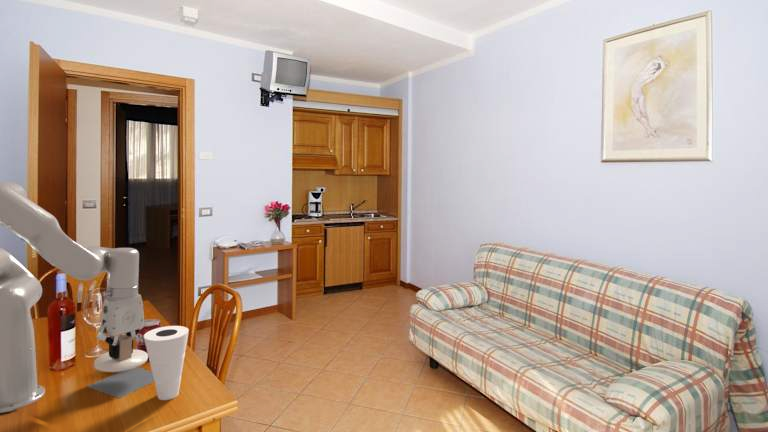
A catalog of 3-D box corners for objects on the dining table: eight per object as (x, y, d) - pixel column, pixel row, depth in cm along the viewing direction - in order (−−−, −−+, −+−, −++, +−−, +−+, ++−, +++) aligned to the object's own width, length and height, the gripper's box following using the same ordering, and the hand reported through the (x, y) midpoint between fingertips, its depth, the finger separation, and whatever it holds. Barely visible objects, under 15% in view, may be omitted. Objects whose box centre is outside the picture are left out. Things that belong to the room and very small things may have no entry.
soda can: (151, 364, 133) (150, 327, 132) (131, 361, 135) (130, 325, 134) (167, 354, 140) (166, 319, 139) (148, 352, 142) (147, 317, 141)
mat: (119, 400, 112) (119, 398, 112) (86, 388, 118) (86, 386, 118) (165, 377, 125) (165, 375, 125) (133, 368, 130) (133, 366, 130)
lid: (114, 376, 111) (114, 350, 111) (83, 364, 116) (83, 340, 116) (158, 359, 123) (158, 335, 123) (128, 349, 128) (128, 326, 128)
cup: (183, 383, 122) (182, 323, 120) (195, 398, 114) (193, 334, 112) (142, 395, 115) (139, 331, 113) (151, 412, 107) (148, 344, 105)
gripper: (101, 300, 109) (100, 369, 111) (158, 288, 125) (156, 348, 126) (83, 296, 112) (82, 362, 114) (140, 284, 128) (139, 343, 129)
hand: (121, 354), depth 120 cm, fingers closed on lid, 3 cm apart
